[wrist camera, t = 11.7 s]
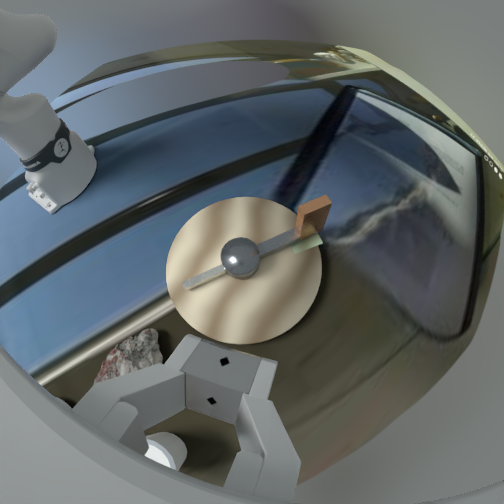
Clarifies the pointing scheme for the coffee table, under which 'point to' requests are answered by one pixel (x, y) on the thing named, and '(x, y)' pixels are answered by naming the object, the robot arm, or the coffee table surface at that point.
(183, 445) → the white cylinder
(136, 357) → the mineral rock
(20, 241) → the coffee table surface
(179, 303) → the stand
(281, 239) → the grey pivot bar
